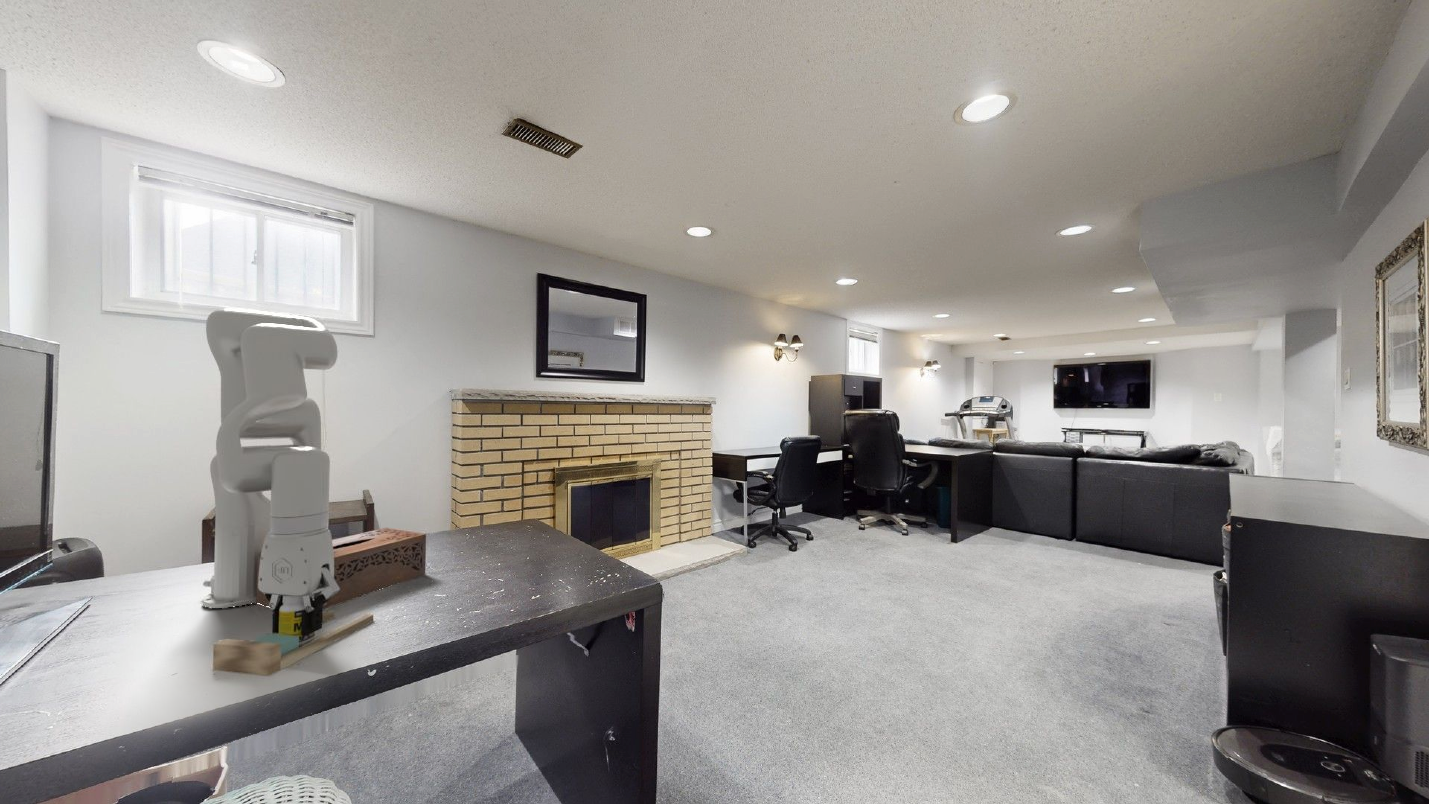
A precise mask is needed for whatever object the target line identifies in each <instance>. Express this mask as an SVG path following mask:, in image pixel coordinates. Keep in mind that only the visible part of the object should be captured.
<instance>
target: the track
mask: <svg viewBox="0 0 1429 804" xmlns="http://www.w3.org/2000/svg"><path fill="white" fill-rule="evenodd" d="M333 619H335V611H332V610H331V611H330V610H326V611H323V618H322V624H324V623H326V622H328V621H330V620H333ZM373 622H374V614H368V613H365V614H363V615H361V616H360V617H357V618H355V619H353V620H351V621H349V622H347V623H345V624H343V625H342V626H339V627H337V628H335V629H333V630H331V631H330V632H328V633H326V634H323V635H322V636H318V638H314V639H312V640H311V641H309V642H307V643H305V644H302V646H301V645H300V646H299V648H297V649H295V650H293V651H291V652H289V653H287V654H285V655H283V656H281V644H277V643H266V642H255V641H253V640H242V639H232V638H224V639H221V640H219V641H217V642H214V643H213V648H212V649H213V650H212V651H213V652H212V653H213V655H212V670H213V671H220V672H230V673H238V674H250V675H259V676H267V677H268V676H269V677H270V676H271V675H274V674H275V673H277V672H279V671H281V670H283V669H286V668H287V667H289V666H291V665H293V664H295V663H296V662H298V661H301V660H302V659H304V658H306V657H309V656H310V655H311V654H314V653H315V652H317V651H319V650H321V649H324V647H326V646H327V647H328V646H329V645H330V644H333V643H335V642H337V641H338V640H341V639H342V638H344V637H346V636H348V635H349V634H352V633H353V632H356V631H357V630H359V629H361V628H363V627H366V626H367V625H369V624H370V623H373ZM277 634H279V633H277Z"/></svg>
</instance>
